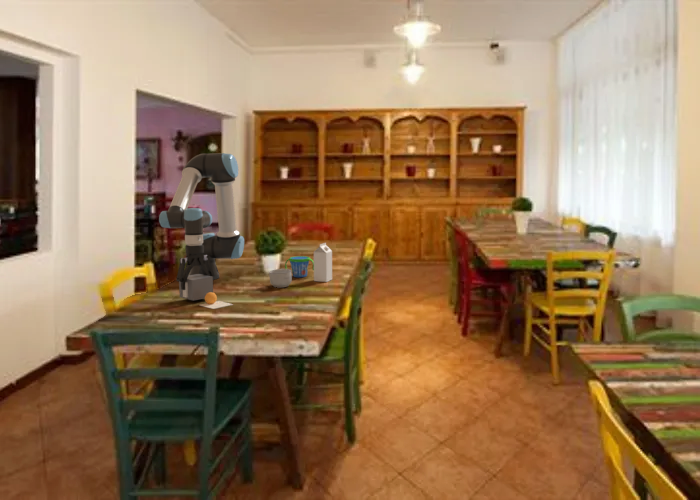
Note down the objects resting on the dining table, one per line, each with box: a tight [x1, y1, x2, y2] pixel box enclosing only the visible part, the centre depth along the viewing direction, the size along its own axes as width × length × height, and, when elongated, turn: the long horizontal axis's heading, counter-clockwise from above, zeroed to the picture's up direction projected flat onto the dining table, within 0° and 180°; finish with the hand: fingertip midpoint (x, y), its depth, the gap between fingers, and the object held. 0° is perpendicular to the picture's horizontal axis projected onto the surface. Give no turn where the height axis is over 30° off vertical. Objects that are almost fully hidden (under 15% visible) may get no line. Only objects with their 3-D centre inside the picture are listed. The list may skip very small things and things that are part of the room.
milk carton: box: [313, 242, 333, 283], centre depth 295 cm, size 7×7×19 cm
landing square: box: [199, 300, 234, 310], centre depth 243 cm, size 10×10×1 cm
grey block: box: [178, 274, 214, 302], centre depth 252 cm, size 10×10×9 cm
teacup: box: [268, 268, 293, 289], centre depth 282 cm, size 14×11×8 cm
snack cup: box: [284, 255, 314, 278], centre depth 306 cm, size 16×10×10 cm
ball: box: [204, 291, 218, 304], centre depth 245 cm, size 5×5×5 cm
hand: (196, 295), depth 252 cm, fingers closed on grey block, 10 cm apart
